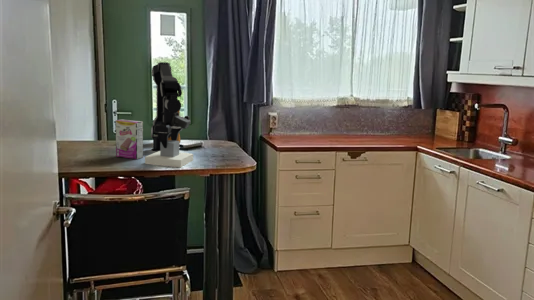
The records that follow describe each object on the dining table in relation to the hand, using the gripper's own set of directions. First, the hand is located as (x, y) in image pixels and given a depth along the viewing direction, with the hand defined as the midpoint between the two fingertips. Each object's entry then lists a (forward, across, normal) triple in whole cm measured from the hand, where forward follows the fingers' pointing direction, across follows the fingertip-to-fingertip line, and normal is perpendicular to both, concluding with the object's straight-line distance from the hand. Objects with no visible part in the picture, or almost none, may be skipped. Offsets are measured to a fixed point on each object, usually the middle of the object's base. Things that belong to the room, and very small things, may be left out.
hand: (169, 146), depth 200 cm
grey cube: (+4, 0, 0) cm, 4 cm away
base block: (+7, 0, 0) cm, 7 cm away
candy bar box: (+7, +2, +20) cm, 21 cm away
